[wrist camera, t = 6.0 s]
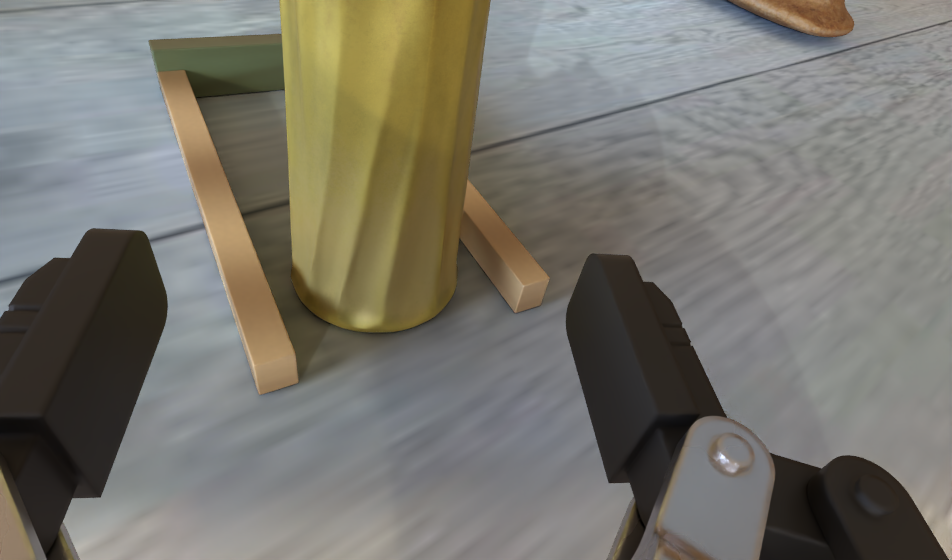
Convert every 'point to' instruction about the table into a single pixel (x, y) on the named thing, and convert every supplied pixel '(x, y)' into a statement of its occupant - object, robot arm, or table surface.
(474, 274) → the table surface
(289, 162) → the vase
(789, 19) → the clay pipe
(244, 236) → the u-shaped frame
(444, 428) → the table surface
